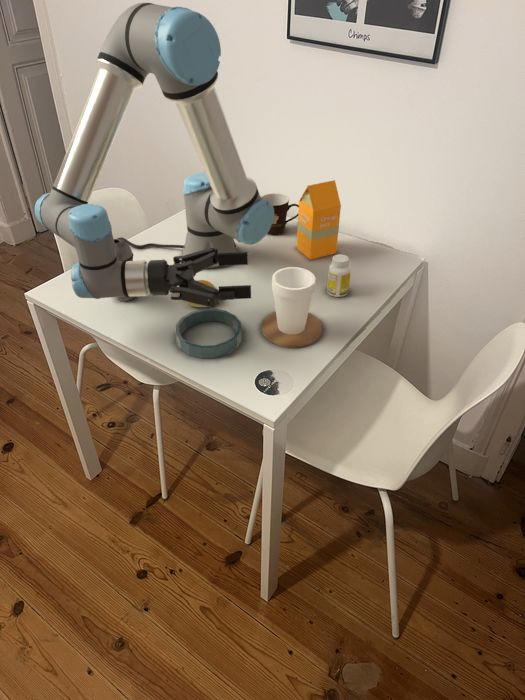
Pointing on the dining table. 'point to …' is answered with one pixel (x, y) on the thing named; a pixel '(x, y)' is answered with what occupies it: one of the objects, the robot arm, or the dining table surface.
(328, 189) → the orange juice
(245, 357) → the dining table surface
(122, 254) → the beverage cup
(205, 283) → the bread roll
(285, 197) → the coffee mug
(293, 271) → the foam cup
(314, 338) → the wooden coaster
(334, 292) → the supplement bottle
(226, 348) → the ring
